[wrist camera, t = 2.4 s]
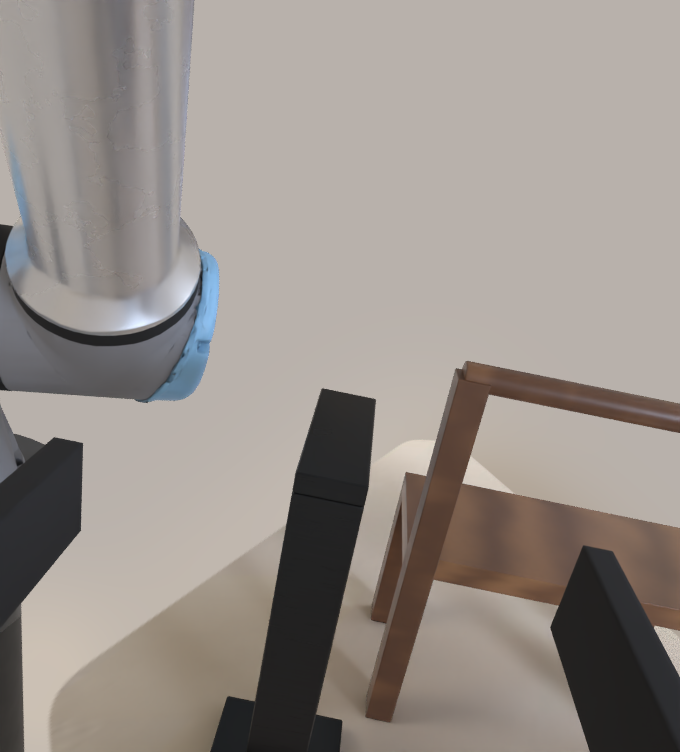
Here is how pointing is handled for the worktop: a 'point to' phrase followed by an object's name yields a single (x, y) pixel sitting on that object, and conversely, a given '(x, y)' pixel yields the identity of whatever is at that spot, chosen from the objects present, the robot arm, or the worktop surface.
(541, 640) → the worktop surface
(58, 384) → the robot arm
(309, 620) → the black pedestal stand
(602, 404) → the chair
